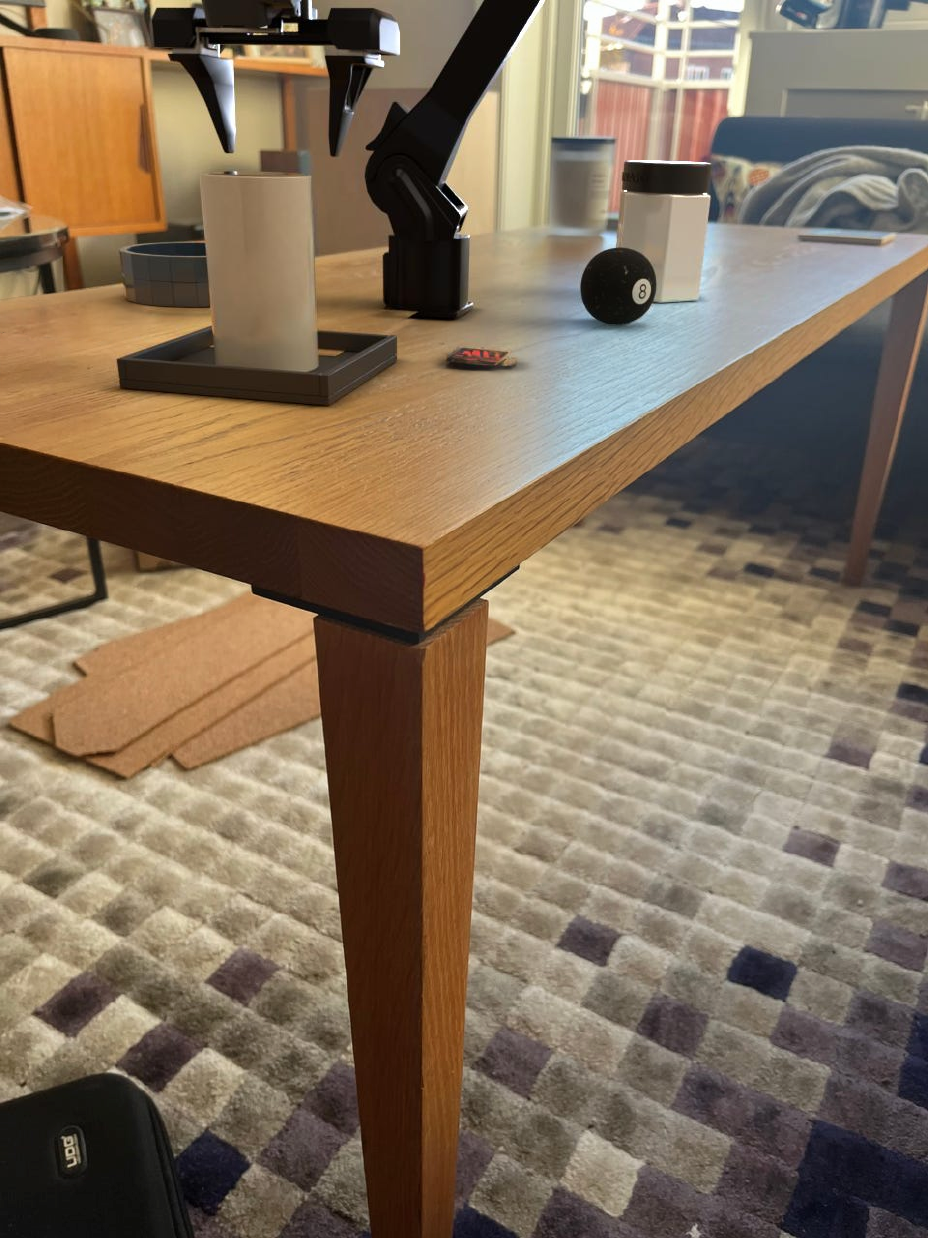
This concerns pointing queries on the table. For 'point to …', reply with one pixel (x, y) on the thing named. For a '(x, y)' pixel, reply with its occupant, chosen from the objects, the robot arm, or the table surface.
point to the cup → (261, 269)
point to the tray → (258, 369)
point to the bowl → (166, 274)
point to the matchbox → (480, 356)
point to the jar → (667, 222)
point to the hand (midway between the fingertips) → (281, 154)
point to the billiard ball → (618, 286)
